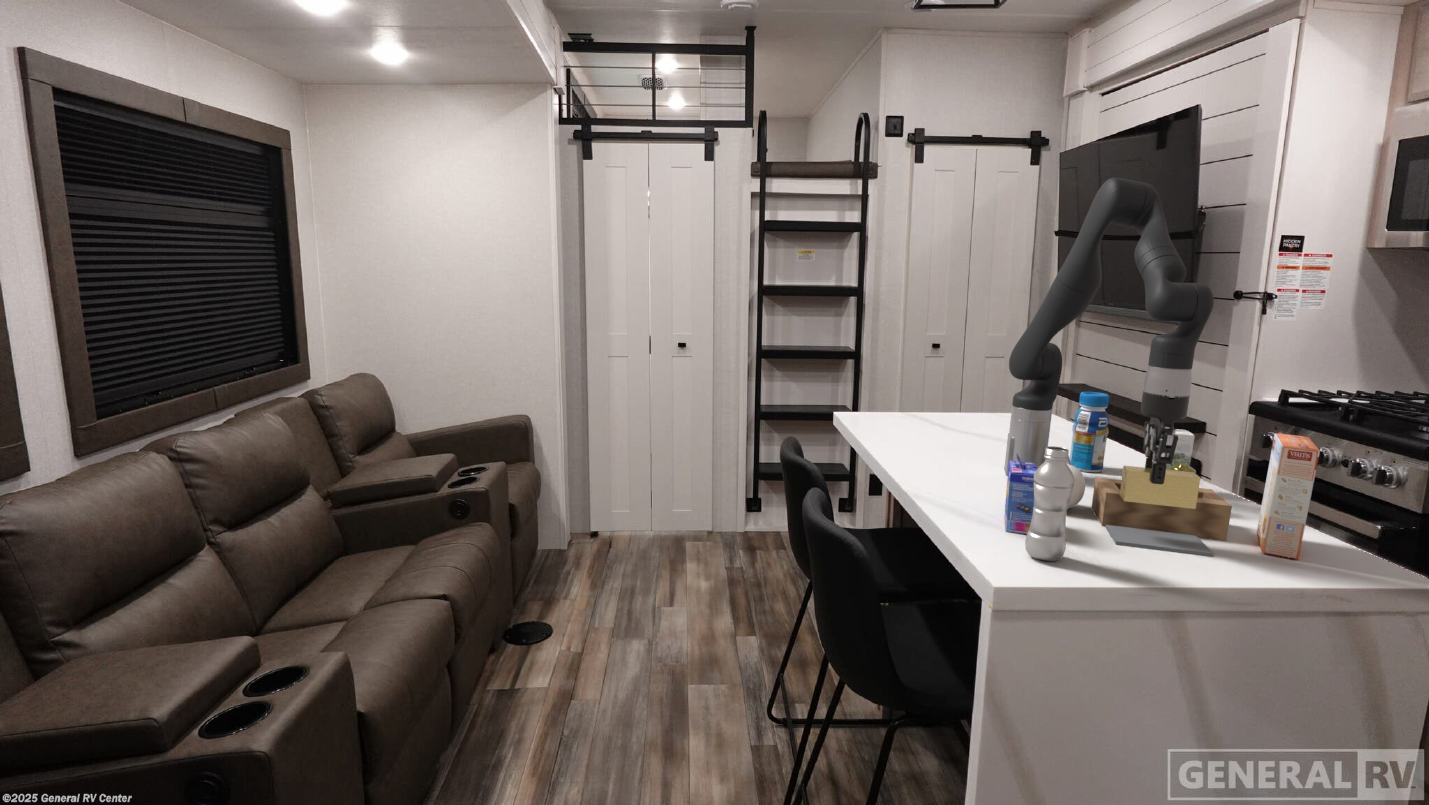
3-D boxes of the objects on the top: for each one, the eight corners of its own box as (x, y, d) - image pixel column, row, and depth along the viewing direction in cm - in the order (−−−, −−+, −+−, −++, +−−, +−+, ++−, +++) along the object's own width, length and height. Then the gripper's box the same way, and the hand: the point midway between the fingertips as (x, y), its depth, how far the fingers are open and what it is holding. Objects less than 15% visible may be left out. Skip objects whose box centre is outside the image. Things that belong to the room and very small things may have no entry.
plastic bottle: (1016, 551, 138) (1029, 444, 134) (1052, 551, 138) (1065, 444, 135) (1034, 565, 131) (1047, 453, 128) (1071, 565, 132) (1086, 453, 128)
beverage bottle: (1063, 463, 203) (1072, 390, 200) (1096, 466, 202) (1106, 392, 198) (1073, 472, 195) (1083, 395, 191) (1108, 474, 194) (1118, 397, 190)
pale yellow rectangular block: (1124, 501, 144) (1128, 470, 143) (1119, 495, 148) (1123, 465, 147) (1195, 509, 141) (1200, 477, 140) (1189, 502, 145) (1193, 472, 144)
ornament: (1081, 505, 167) (1088, 452, 165) (1082, 518, 158) (1089, 462, 155) (1031, 498, 171) (1037, 446, 169) (1029, 510, 162) (1035, 456, 160)
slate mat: (1115, 544, 143) (1116, 541, 143) (1105, 527, 152) (1105, 524, 152) (1212, 556, 139) (1213, 553, 138) (1195, 538, 148) (1196, 535, 148)
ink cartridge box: (1002, 516, 157) (1009, 448, 155) (1031, 520, 155) (1039, 451, 153) (1003, 531, 148) (1011, 459, 145) (1034, 536, 146) (1042, 463, 144)
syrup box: (1173, 486, 184) (1182, 428, 182) (1186, 494, 179) (1195, 433, 176) (1149, 485, 185) (1157, 427, 182) (1160, 492, 179) (1169, 432, 177)
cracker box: (1301, 561, 138) (1321, 449, 134) (1260, 554, 141) (1279, 444, 137) (1292, 539, 149) (1311, 436, 146) (1255, 533, 152) (1273, 431, 149)
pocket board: (1101, 525, 154) (1106, 492, 152) (1091, 508, 165) (1095, 477, 164) (1226, 540, 147) (1232, 506, 146) (1206, 521, 159) (1211, 489, 157)
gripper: (1135, 384, 149) (1123, 469, 152) (1153, 395, 135) (1140, 488, 138) (1178, 387, 147) (1165, 473, 150) (1201, 398, 133) (1187, 493, 136)
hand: (1153, 479), depth 144 cm, fingers closed on pale yellow rectangular block, 4 cm apart
